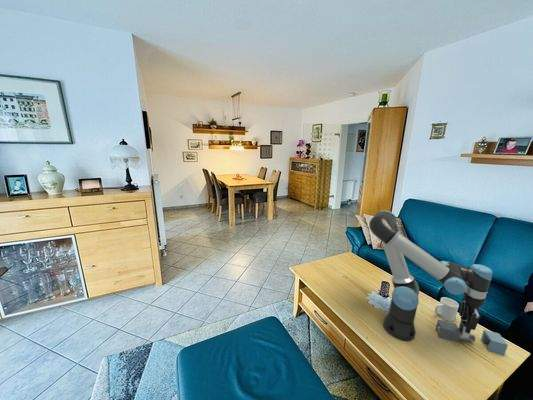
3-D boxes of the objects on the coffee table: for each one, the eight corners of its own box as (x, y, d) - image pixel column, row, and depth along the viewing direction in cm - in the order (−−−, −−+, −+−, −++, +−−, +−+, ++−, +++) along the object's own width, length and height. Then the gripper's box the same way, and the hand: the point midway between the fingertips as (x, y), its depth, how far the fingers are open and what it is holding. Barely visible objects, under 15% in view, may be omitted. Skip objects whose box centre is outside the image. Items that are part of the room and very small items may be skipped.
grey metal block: (439, 338, 116) (442, 328, 114) (435, 328, 121) (437, 319, 120) (458, 342, 113) (461, 332, 111) (453, 333, 119) (455, 323, 117)
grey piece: (439, 334, 117) (442, 319, 115) (436, 329, 120) (440, 315, 117) (474, 343, 112) (479, 328, 109) (471, 338, 115) (475, 323, 112)
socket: (488, 351, 109) (491, 340, 107) (480, 339, 115) (484, 329, 113) (504, 355, 107) (507, 344, 105) (495, 343, 113) (498, 333, 111)
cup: (458, 321, 127) (462, 306, 124) (439, 322, 126) (443, 307, 124) (446, 311, 135) (450, 297, 132) (428, 311, 134) (431, 297, 132)
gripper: (493, 307, 100) (480, 349, 105) (475, 287, 114) (464, 324, 120) (473, 303, 102) (461, 344, 108) (458, 283, 117) (448, 320, 123)
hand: (463, 333), depth 114 cm, fingers closed on grey piece, 3 cm apart
